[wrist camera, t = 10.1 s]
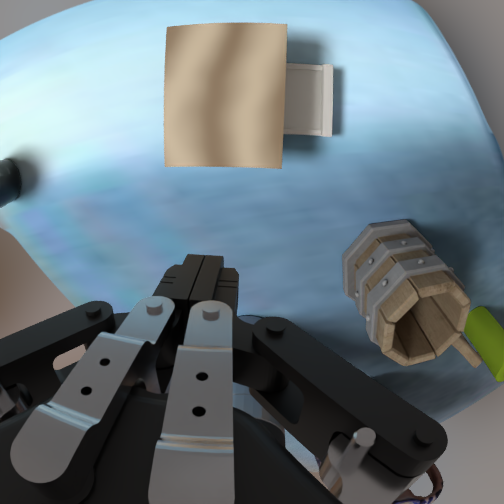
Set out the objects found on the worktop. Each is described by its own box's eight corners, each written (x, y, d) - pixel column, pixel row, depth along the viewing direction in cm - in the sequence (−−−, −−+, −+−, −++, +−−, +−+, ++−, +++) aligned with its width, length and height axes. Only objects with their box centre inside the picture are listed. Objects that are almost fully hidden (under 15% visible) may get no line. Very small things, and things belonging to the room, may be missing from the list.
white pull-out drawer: (328, 68, 29) (333, 64, 27) (327, 135, 33) (331, 136, 30) (193, 67, 30) (188, 64, 28) (193, 134, 33) (189, 135, 31)
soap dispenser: (466, 341, 45) (514, 419, 27) (459, 320, 43) (515, 404, 25) (489, 322, 44) (542, 396, 26) (484, 300, 42) (546, 377, 24)
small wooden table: (282, 40, 28) (287, 24, 22) (277, 158, 34) (281, 168, 28) (183, 41, 28) (166, 27, 22) (181, 157, 34) (164, 166, 28)
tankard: (323, 275, 40) (348, 354, 27) (386, 201, 36) (447, 253, 22) (409, 336, 45) (444, 404, 31) (463, 280, 40) (514, 338, 26)
